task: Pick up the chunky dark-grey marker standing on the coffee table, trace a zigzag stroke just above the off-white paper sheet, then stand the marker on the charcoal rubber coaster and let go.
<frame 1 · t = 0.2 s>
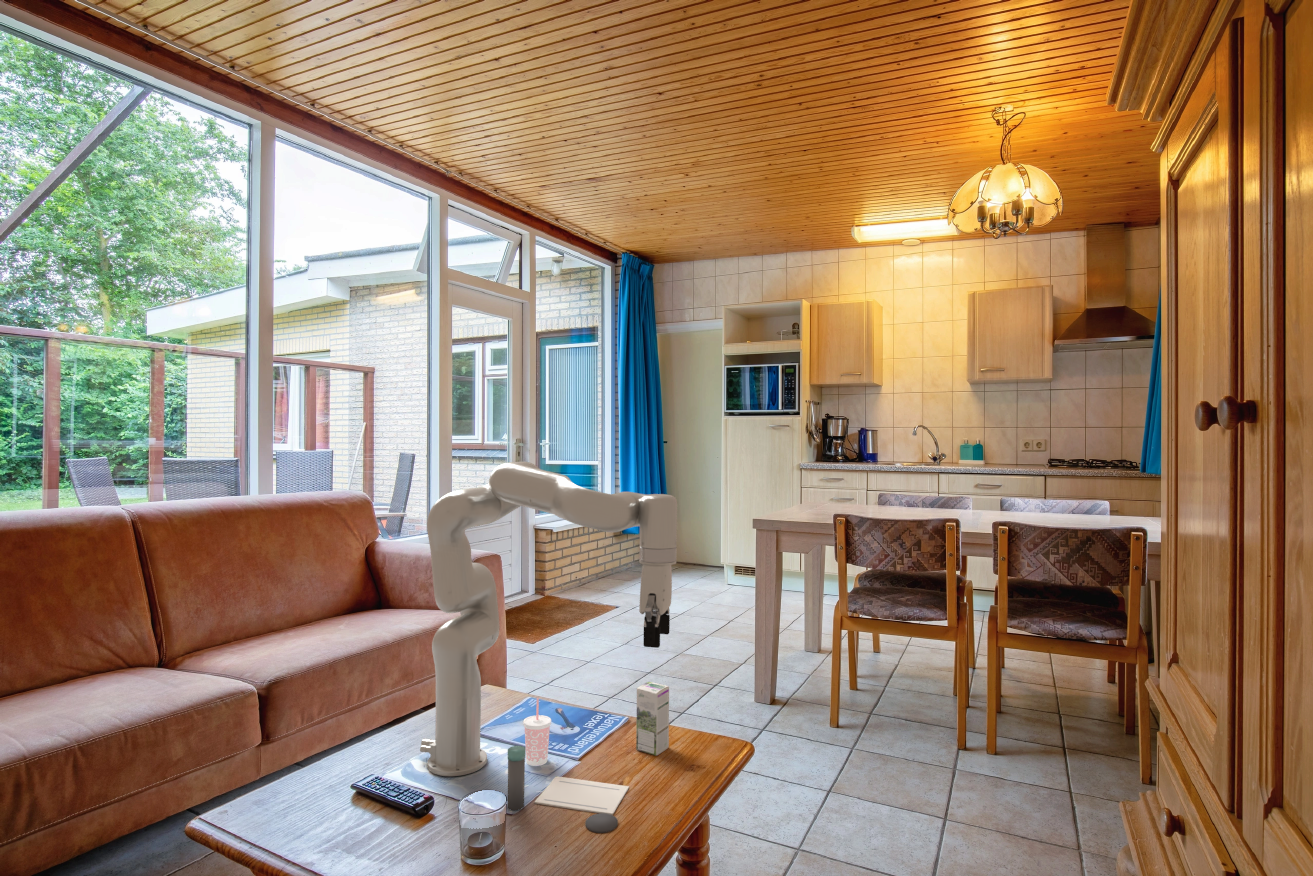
hand: (656, 640, 145), 31 cm above the table, fingers open, 9 cm apart
coaster: (601, 824, 132), on the table
syrup box: (652, 750, 165), on the table
beverage cup: (536, 762, 158), on the table
marker: (515, 806, 138), on the table
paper: (582, 795, 143), on the table
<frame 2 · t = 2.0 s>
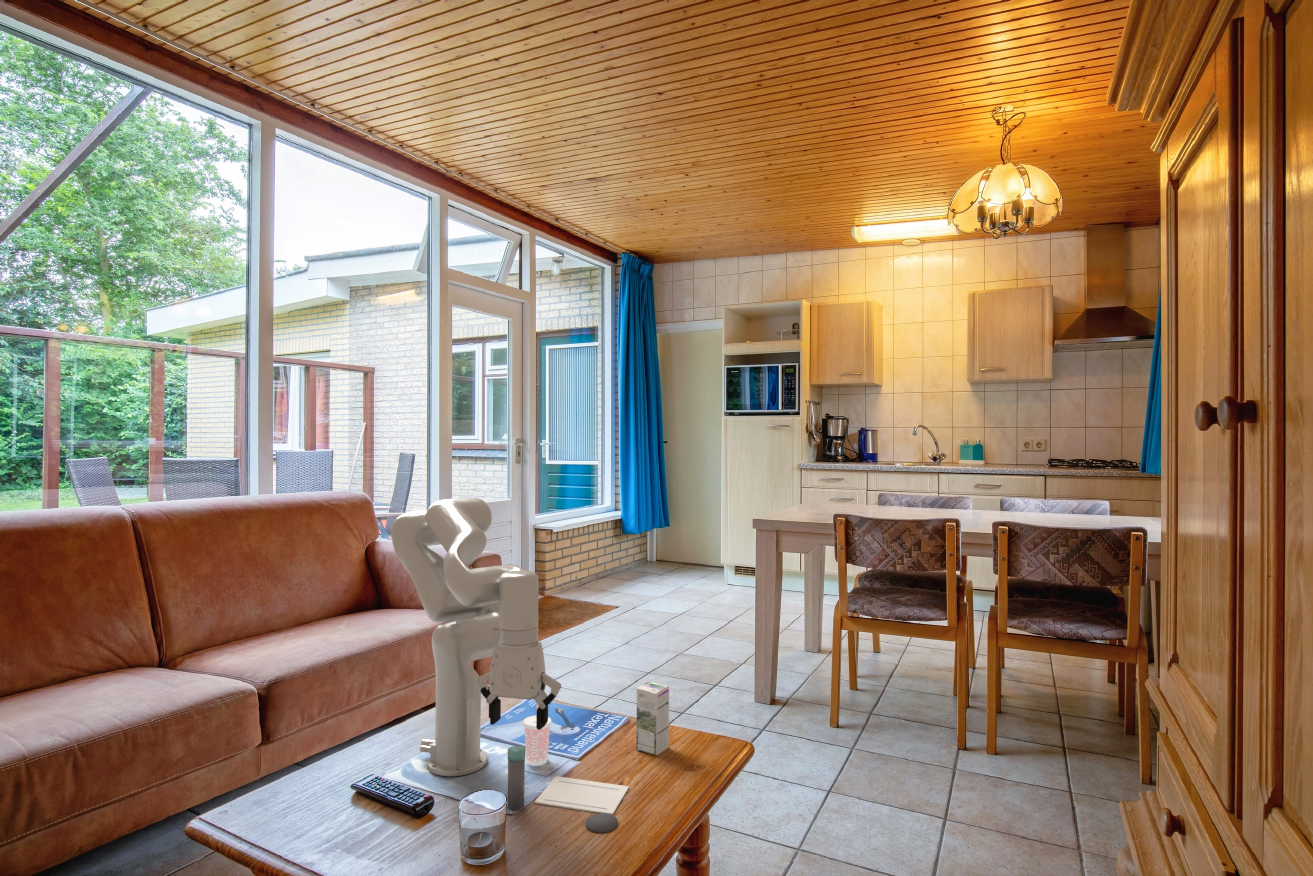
hand: (518, 724, 138), 16 cm above the table, fingers open, 9 cm apart
nothing on the table moved.
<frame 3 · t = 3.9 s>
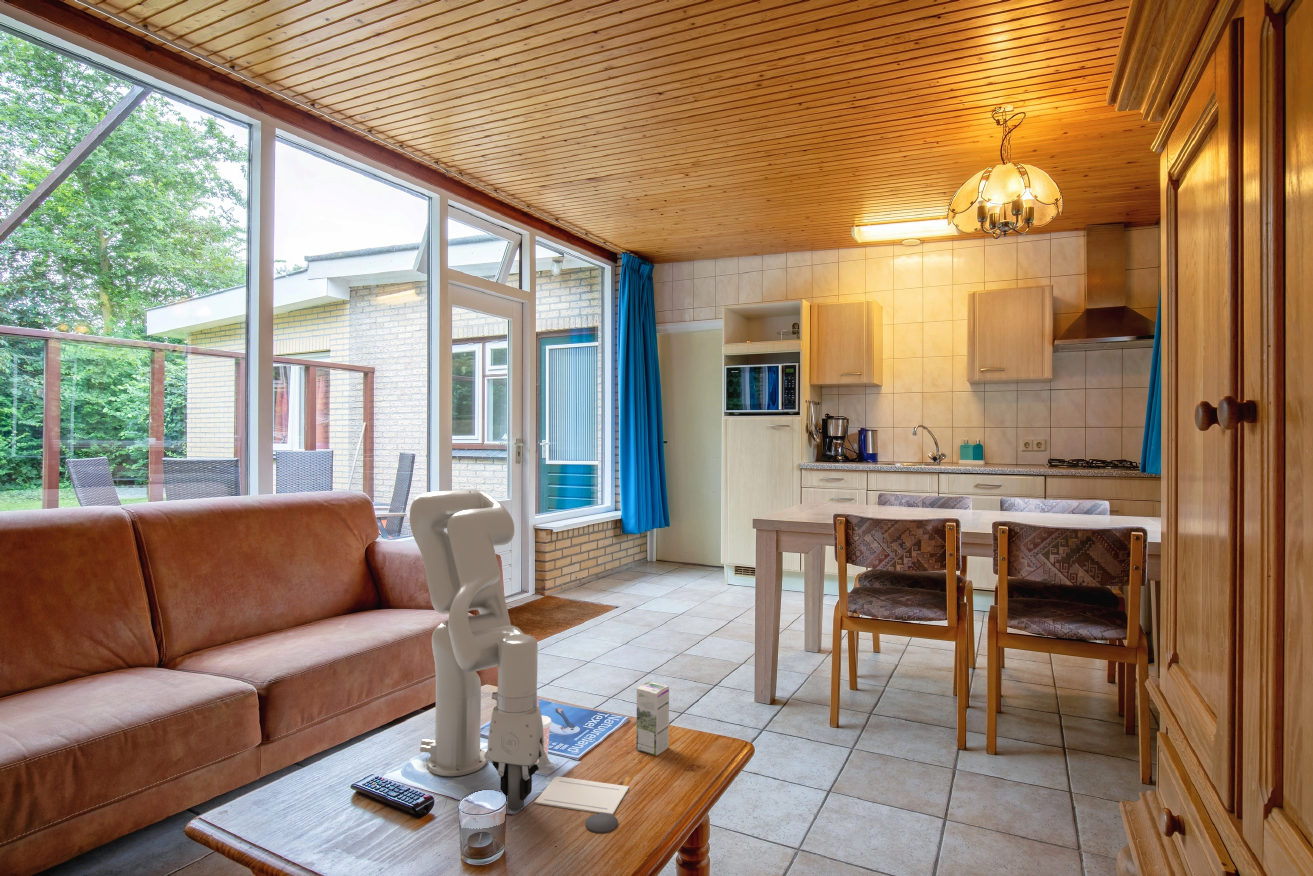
hand: (515, 794, 138), 2 cm above the table, fingers closed on marker, 3 cm apart
marker: (515, 806, 138), on the table, touching gripper
everything else where it was.
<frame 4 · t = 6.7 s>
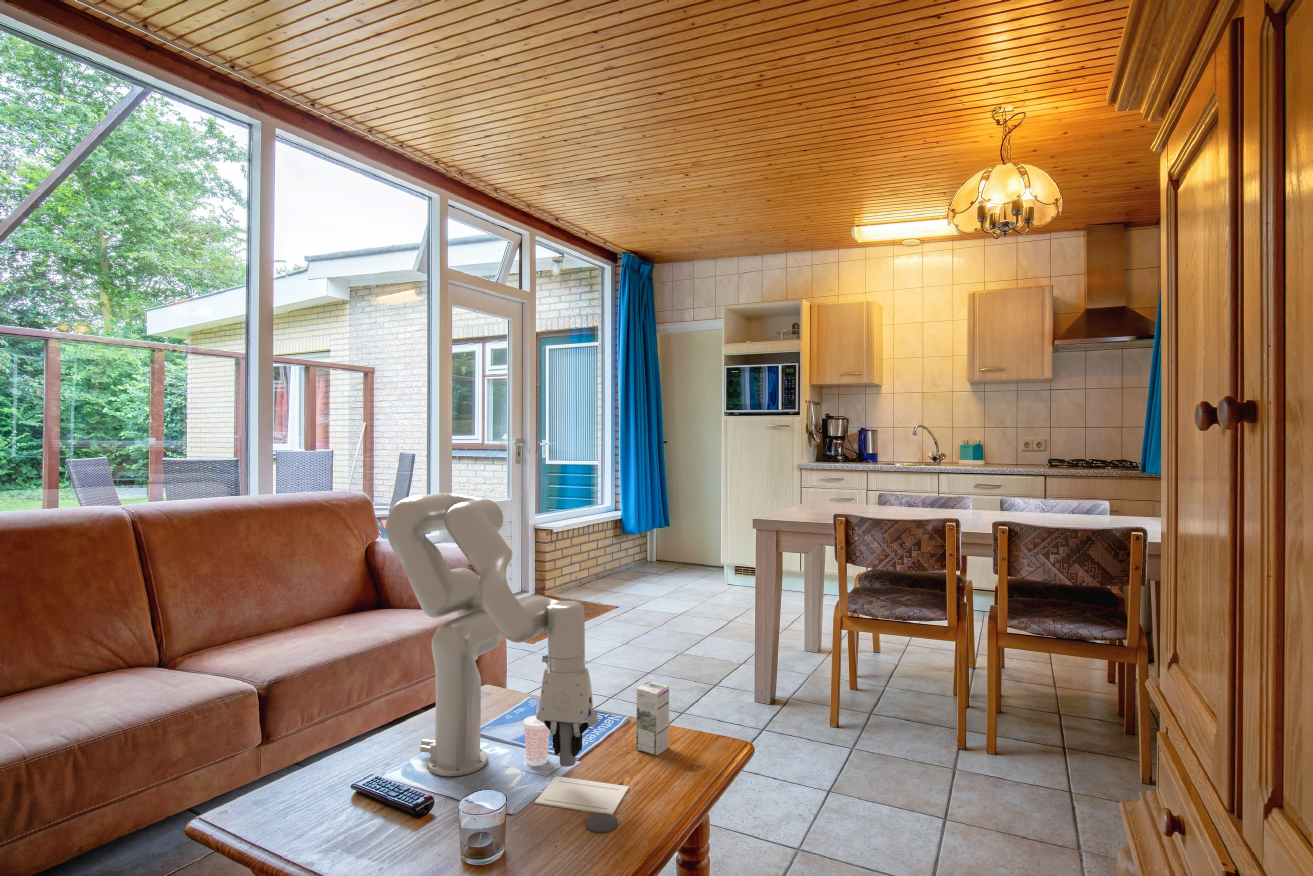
hand: (567, 752, 146), 7 cm above the table, fingers closed on marker, 3 cm apart
marker: (567, 763, 146), point 5 cm above the table, touching gripper
everything else where it was.
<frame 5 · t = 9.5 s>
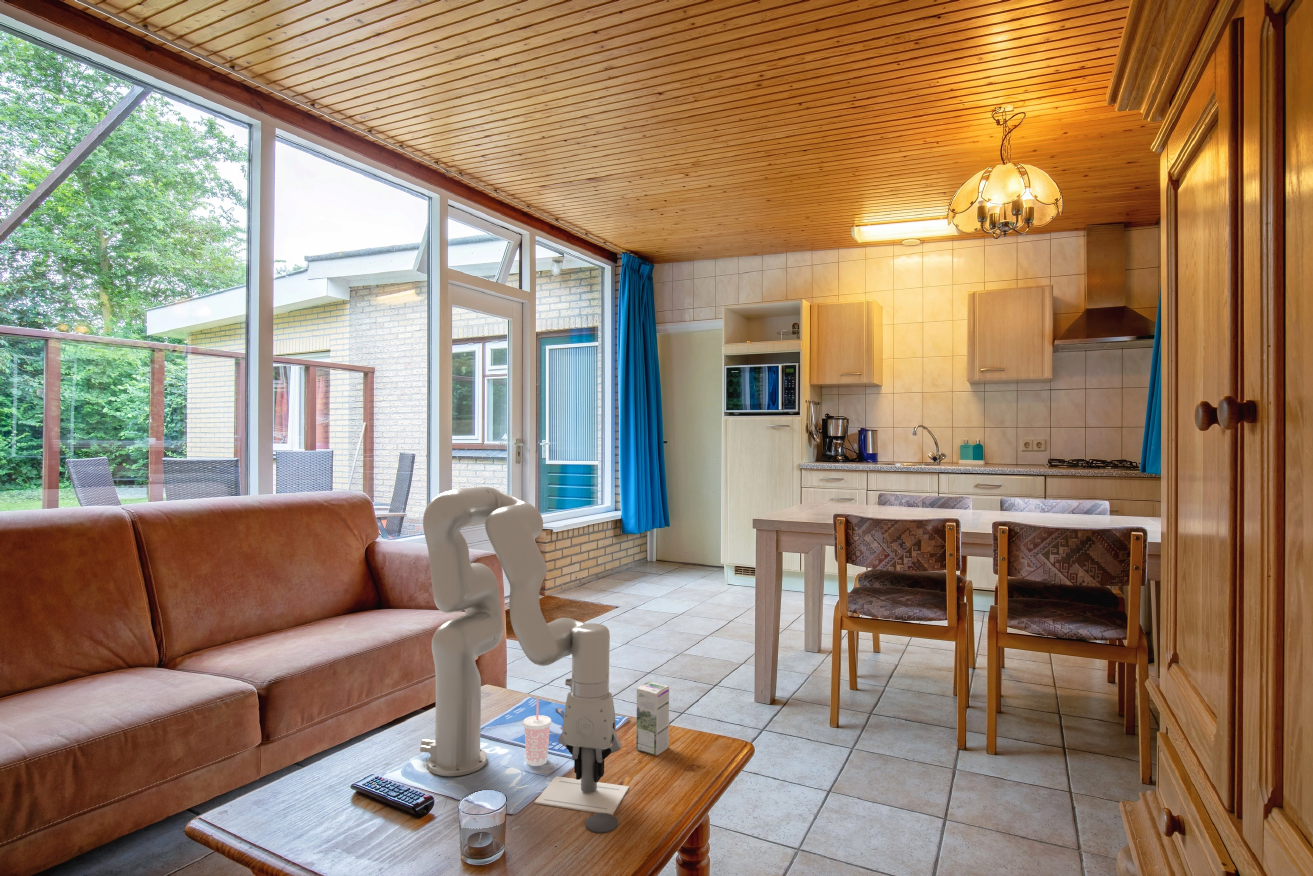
hand: (589, 777, 144), 3 cm above the table, fingers closed on marker, 3 cm apart
marker: (588, 788, 144), point 1 cm above the table, touching gripper
everything else where it was.
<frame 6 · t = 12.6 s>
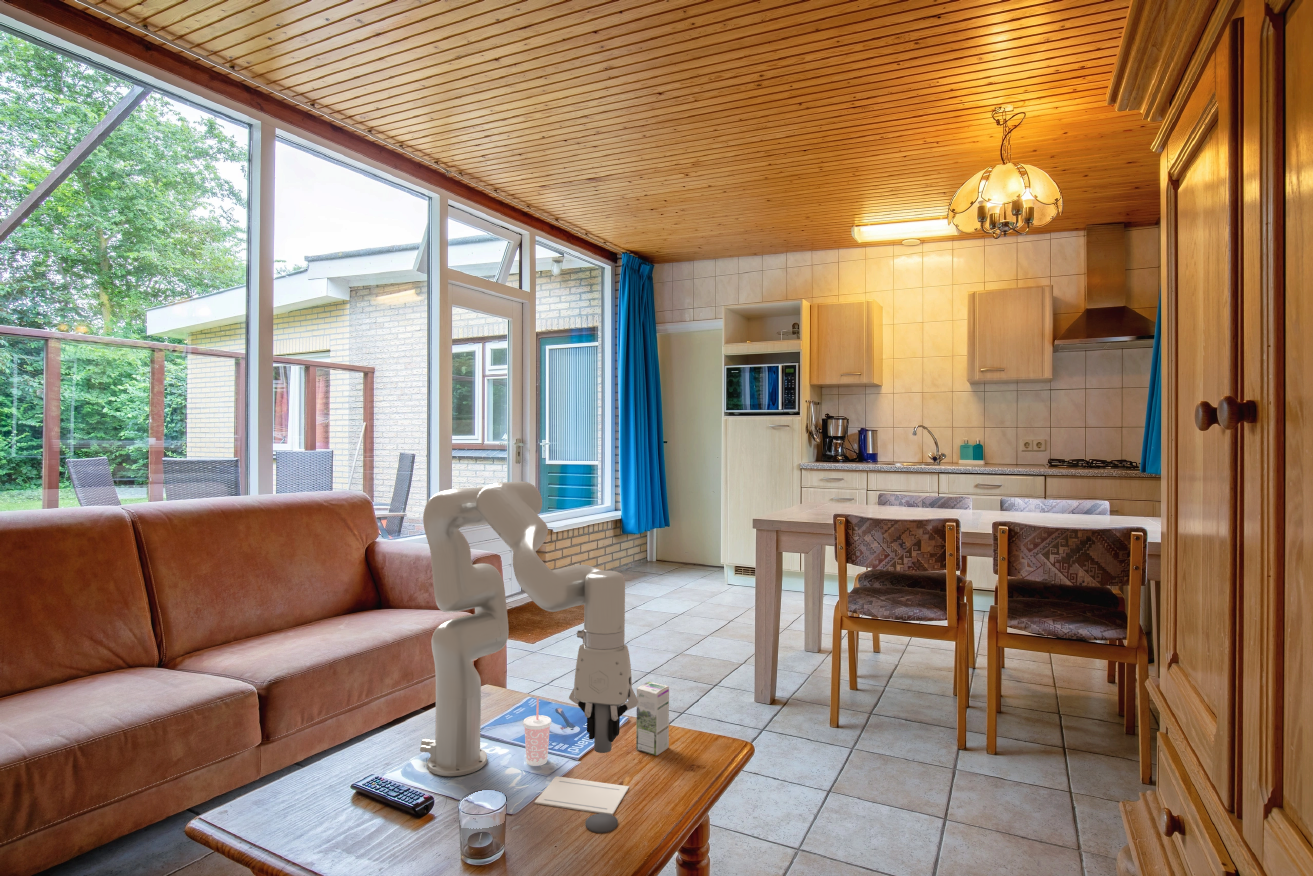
hand: (603, 737, 132), 16 cm above the table, fingers closed on marker, 3 cm apart
marker: (602, 749, 132), point 14 cm above the table, touching gripper
everything else where it was.
when the fingers open (3 cm above the table, at t = 15.2 s): marker stays where it is, resting on coaster.
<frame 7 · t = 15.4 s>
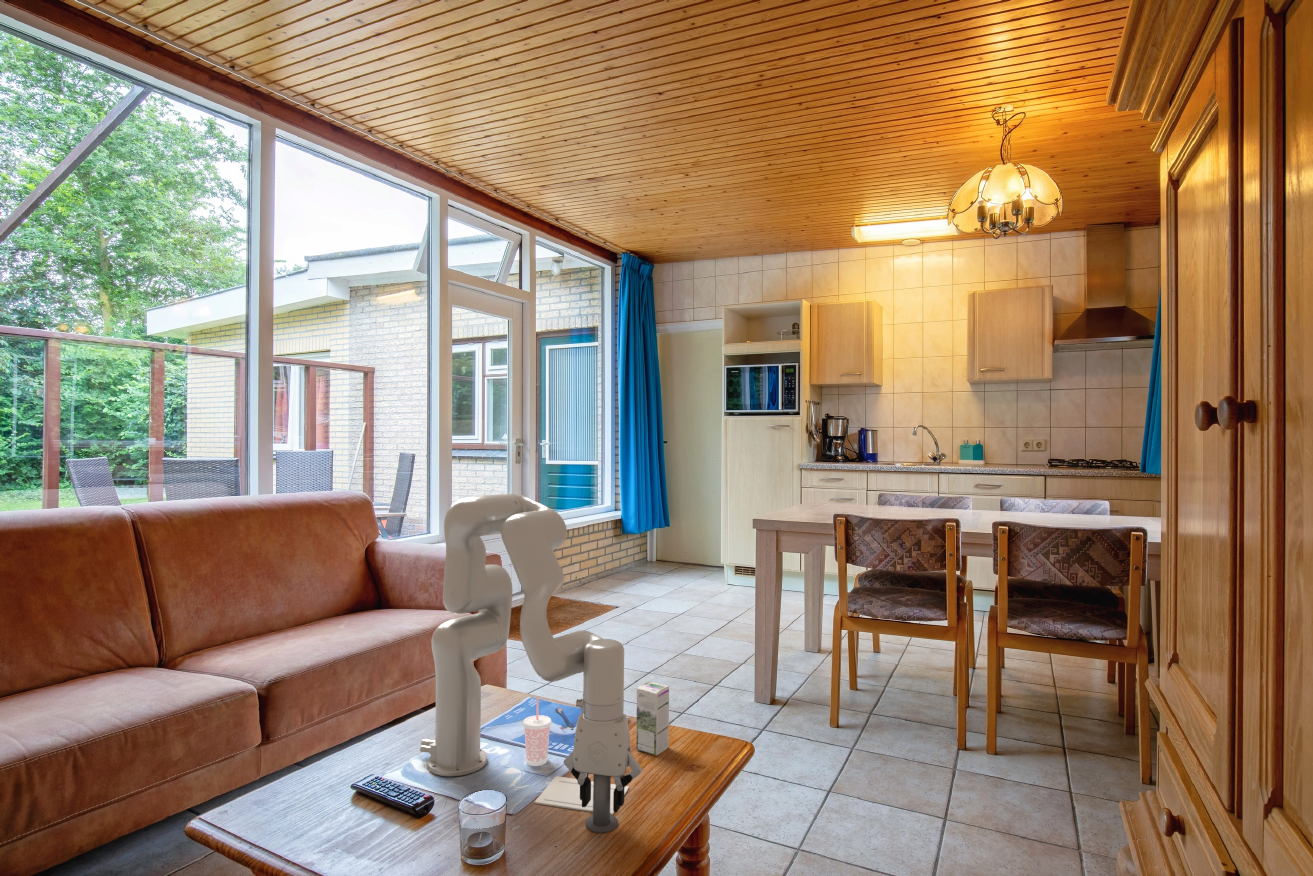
hand: (601, 805, 132), 3 cm above the table, fingers open, 5 cm apart
marker: (601, 822, 132), resting on coaster
everything else where it was.
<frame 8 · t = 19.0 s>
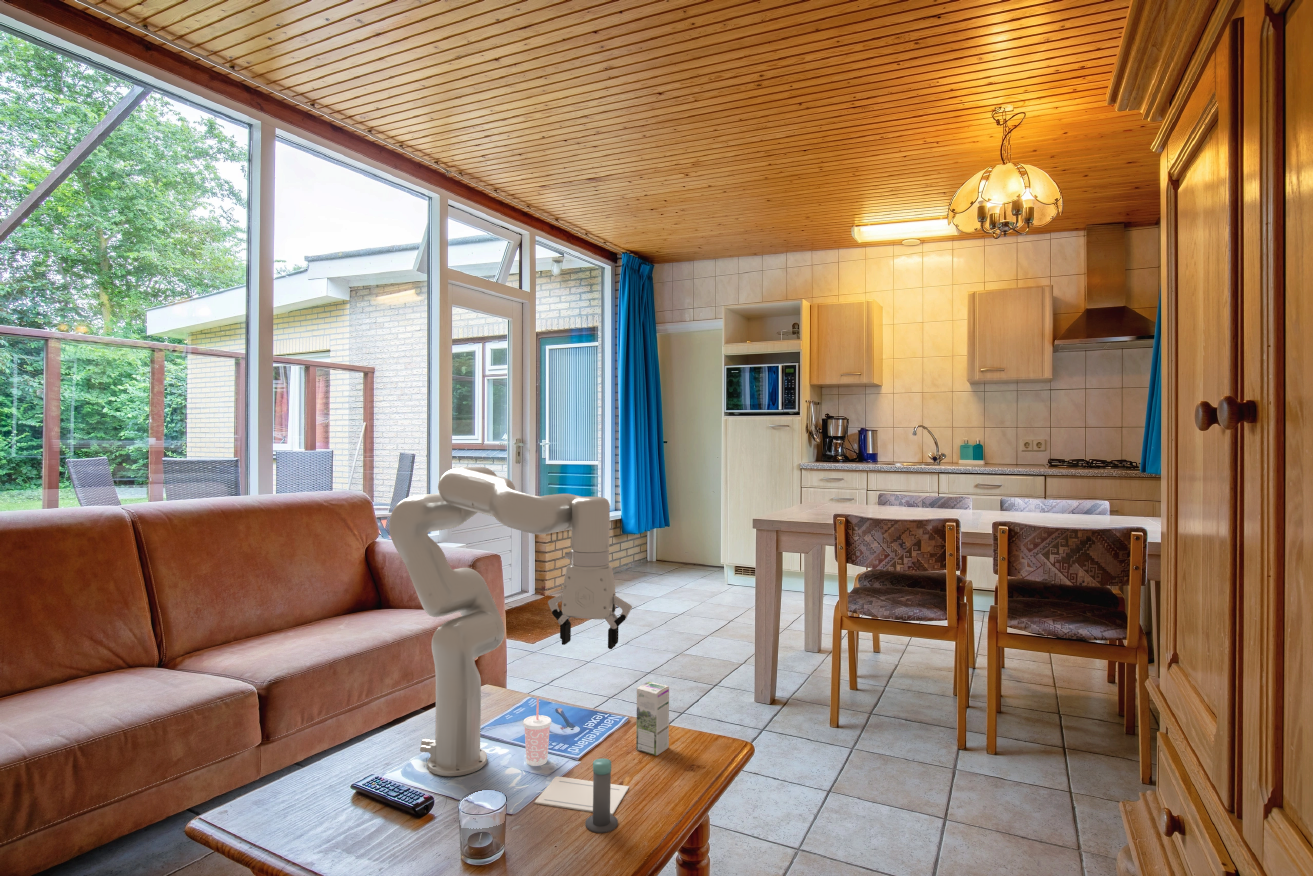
hand: (588, 645, 142), 30 cm above the table, fingers open, 9 cm apart
nothing on the table moved.
at the end: marker 0.0 cm off-centre on the coaster, point 0.4 cm above the coaster's base; marker tilted 0°; the gripper is holding nothing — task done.
